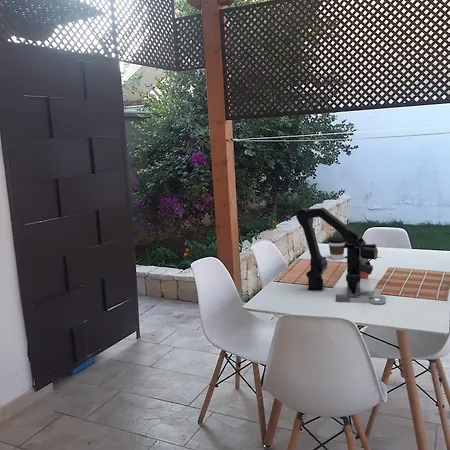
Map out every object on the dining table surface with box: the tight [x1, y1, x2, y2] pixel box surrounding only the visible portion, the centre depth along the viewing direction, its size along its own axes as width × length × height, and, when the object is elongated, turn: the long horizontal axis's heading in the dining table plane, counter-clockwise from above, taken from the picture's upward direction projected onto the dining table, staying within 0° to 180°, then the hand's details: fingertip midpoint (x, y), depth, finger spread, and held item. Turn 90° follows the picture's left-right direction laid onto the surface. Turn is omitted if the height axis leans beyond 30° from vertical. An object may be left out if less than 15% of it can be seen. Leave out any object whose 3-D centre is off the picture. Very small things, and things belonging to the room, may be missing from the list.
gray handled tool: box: [335, 288, 387, 306], centre depth 204 cm, size 21×7×6 cm, turn 74°
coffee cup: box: [327, 236, 346, 261], centre depth 278 cm, size 11×11×12 cm
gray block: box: [346, 281, 361, 296], centre depth 215 cm, size 6×6×6 cm
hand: (353, 290), depth 216 cm, fingers open, 9 cm apart
